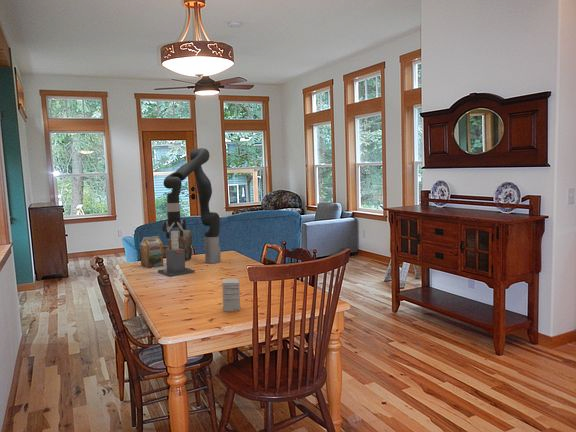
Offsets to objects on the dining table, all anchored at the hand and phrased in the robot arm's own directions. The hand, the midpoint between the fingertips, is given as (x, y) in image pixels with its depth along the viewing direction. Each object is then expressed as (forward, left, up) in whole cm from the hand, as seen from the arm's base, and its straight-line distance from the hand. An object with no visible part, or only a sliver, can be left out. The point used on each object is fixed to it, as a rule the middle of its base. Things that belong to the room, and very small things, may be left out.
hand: (174, 237), depth 285 cm
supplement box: (+19, +86, -21) cm, 91 cm away
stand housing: (0, 0, -21) cm, 21 cm away
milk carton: (+1, -30, -21) cm, 37 cm away
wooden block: (-9, -16, -21) cm, 28 cm away
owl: (-24, -35, -21) cm, 47 cm away
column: (0, 0, -14) cm, 14 cm away
